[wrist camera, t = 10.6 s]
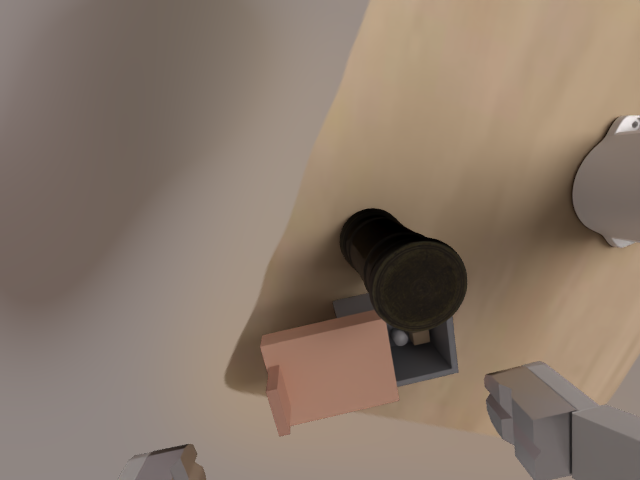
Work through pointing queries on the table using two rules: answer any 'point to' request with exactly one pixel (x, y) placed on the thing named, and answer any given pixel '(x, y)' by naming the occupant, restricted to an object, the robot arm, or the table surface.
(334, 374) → the lid
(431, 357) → the tub
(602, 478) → the robot arm
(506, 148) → the table surface
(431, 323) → the container
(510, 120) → the table surface
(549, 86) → the table surface
